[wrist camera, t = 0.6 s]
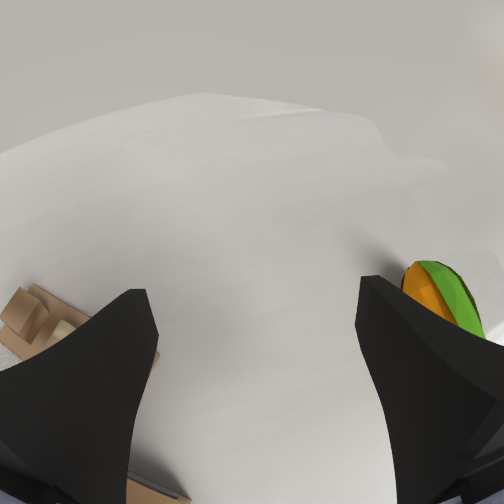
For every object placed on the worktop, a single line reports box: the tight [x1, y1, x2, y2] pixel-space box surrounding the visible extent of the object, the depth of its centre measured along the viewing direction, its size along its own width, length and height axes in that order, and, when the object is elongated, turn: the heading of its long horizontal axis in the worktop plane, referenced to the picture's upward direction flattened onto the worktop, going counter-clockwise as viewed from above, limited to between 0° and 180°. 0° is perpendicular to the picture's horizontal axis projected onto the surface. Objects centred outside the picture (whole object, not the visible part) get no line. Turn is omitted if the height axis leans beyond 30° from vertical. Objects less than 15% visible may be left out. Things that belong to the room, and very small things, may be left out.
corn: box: [401, 261, 486, 339], centre depth 25 cm, size 7×8×20 cm
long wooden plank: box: [126, 471, 191, 504], centre depth 16 cm, size 3×13×4 cm, turn 72°
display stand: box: [0, 284, 159, 375], centre depth 22 cm, size 7×15×3 cm, turn 71°
